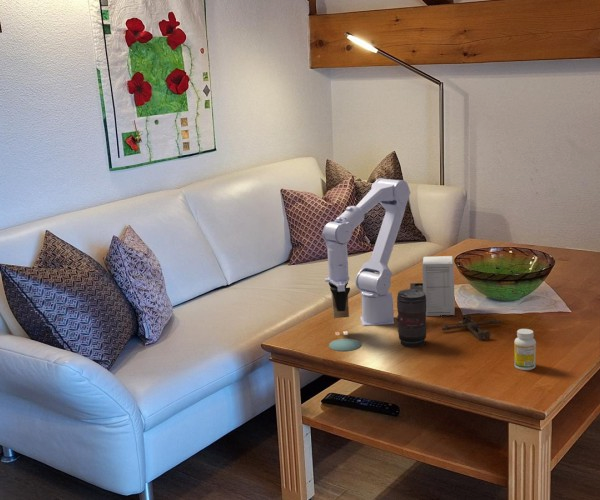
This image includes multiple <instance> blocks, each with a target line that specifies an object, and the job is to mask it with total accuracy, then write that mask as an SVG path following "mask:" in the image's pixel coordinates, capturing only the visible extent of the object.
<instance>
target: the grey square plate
mask: <svg viewBox="0 0 600 500" xmlns="http://www.w3.org/2000/svg"><path fill="white" fill-rule="evenodd" d="M342 332H343V336H348V335H349V332H348V331H347V330H345V331H342ZM334 333H335V336H341V335H340V332H339V331H335V332H334Z"/></svg>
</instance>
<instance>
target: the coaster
mask: <svg viewBox="0 0 600 500" xmlns="http://www.w3.org/2000/svg"><path fill="white" fill-rule="evenodd" d="M361 345H362V343H361V342H360V341H359V340H357V339H353V338H339V339H335V340H332V341H331V342H330V343H328V347H329V349H331V350H333V351H337V352H350V351H355V350H357V349H359V348H360V347H361Z"/></svg>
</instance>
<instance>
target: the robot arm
mask: <svg viewBox="0 0 600 500" xmlns="http://www.w3.org/2000/svg"><path fill="white" fill-rule="evenodd" d="M410 194H411V191H410V188H409V183H407V181H406V180H405V179H389V178H384V177H379V178H377V179H376V180H375V181H374V182H373V183H372V184H371V188H370V190H369V191H368V192H367V193H366V194H365V196H364V197H362V199H361V200H360V201H359V202H358V203H357V205H350V206H347V207H346V208H345V210H344V212H342V213H341V214H340V215H339V216H337V217H336V218H335V220H334V221H329V222H328V223H326V224H325V225H324V227H323V230H322V232H321V236H322V239H323V240H324V242H325V247H326V248H327V265H328V266H327V267H328V268H327V269H328V277H325V278H324V281H325V282H326V283H328V285H329V288H330V293H331V292H332V294H333V296H334V298H335V303H336V307H337V310H338V311H345V307H346V300H347V296H348V297H349V293H350V292H351V288H350V286H349V287H347V286H348V284H349V281H350V276H349V260H348V258H349V257H348V256H349V255H348V242H349V241H350V239H351V238H352V234H353V233H354V230H355V229H356V228H358V226H359V225H361V223H362V222H364V220H365V215H366V214H367V213H368V212H369V211H371V210H372V209H373V208H374V207H375V206H376V205H378V204H380V205H381V207H383V208H384V210H385V214H384V216H383V219H382V222H381V226H380V229H379V232H378V235H377V239H376V241H375V244H374V247H373V250H372V254H371V256H370V258H369V260H368V261H366V262H364V263H363V264H362V265H361V268H360V270H359V271H358V273H357V274H356V276H355V282H354V283H355V286H356V288H357V289H358V290H359V294H360V295H361V313H362V315H360V317H359V319H360V322H361V324H362V326H363V327H367V326H368V327H369V326H383V325H384V326H385V325H394V324H395V320H394V319H395V318H394V316H395V315H394V297H393V294H392V292H389V290H390V289H391V280H392V277H393V273H392V271H391V269H390V268H389V266H388V263H389V261H390V258H391V255H392V252H393V248H394V245H395V243H396V239H397V236H398V233H399V230H400V227H401V224H402V221H403V218H404V215H405V211H406V207H407V204H408V200H409V198H410ZM332 294H331V295H332Z"/></svg>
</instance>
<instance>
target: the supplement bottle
mask: <svg viewBox="0 0 600 500" xmlns="http://www.w3.org/2000/svg"><path fill="white" fill-rule="evenodd" d="M516 336H517V337H516V338H515V339H514V344H513V345H514V346H513V347H514V348H513V349H514V350H513V351H514V354H513V355H514V357H513V361H514V362H513V364H514V365H513V366H514V367H515V369H517V370H521V371H531V370H533V369H535V368H536V365H537V363H536V362H537V357H536V356H537V341H536V339H535V338H534V336H535V335H534V330H532V329H529V328H520V329H518V330H517V331H516Z"/></svg>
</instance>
